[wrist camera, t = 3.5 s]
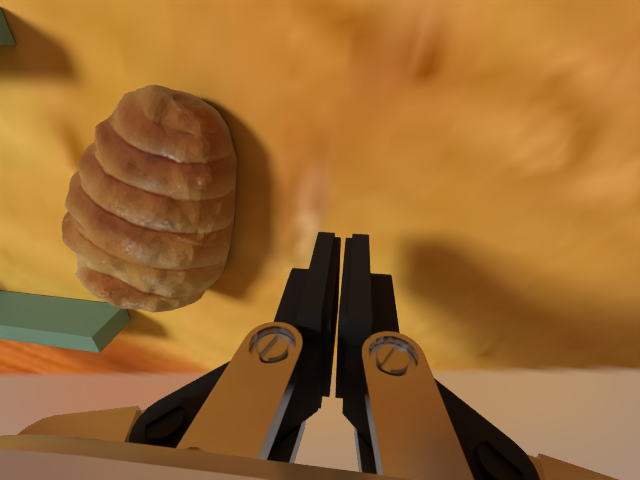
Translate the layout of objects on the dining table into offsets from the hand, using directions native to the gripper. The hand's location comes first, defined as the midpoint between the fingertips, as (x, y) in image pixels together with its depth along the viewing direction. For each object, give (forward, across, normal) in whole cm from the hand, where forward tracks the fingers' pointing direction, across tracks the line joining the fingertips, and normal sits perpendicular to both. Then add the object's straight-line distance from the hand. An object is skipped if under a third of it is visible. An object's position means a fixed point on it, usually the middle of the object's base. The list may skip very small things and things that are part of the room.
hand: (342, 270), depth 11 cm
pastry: (+4, +8, 0) cm, 9 cm away
